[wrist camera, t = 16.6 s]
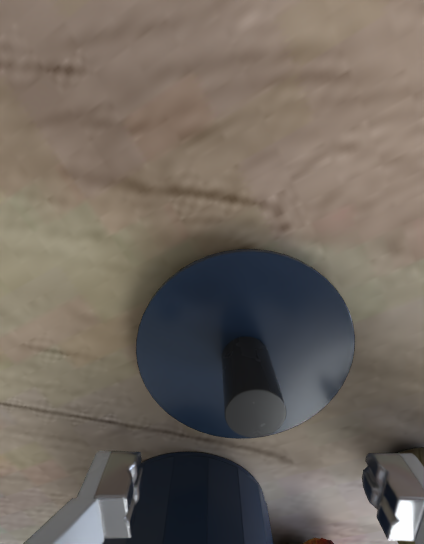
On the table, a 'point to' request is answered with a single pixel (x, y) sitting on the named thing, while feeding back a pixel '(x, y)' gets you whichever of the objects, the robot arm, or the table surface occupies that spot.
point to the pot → (198, 503)
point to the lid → (245, 344)
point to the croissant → (318, 541)
